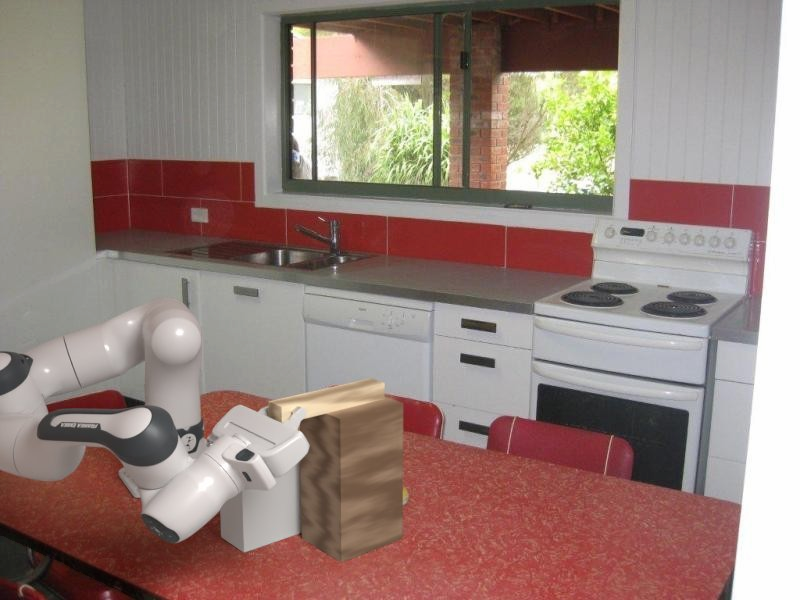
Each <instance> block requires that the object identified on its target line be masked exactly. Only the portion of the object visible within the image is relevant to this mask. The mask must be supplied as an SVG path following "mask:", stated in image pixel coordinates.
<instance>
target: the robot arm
mask: <svg viewBox="0 0 800 600" xmlns="http://www.w3.org/2000/svg"><path fill="white" fill-rule="evenodd" d="M202 331H203V330H202V328H201V325H200V322H199V321H198V319H197V318H196V316H195V315H194V314H193V313H192V311H191V310H190V309H189V307H188V306H187V305H186V303H183V302H182V301H181V300H179V299H176V298H173V297H168V296H163V297H157V298H154V299H151V301H149V302H148V301H147V302H146V303H142V304H141V305H139V306H137V307H134V308H132V309H129V310H127V311H125V312H123V313H121V314H119V315H117V316H115V317H113V318H109V319H108V320H105V321H103V322H100V323H97V324H95V325H92V326H89V327H85V328H82V329H79V330H76V331H73V332H70V333H67V334H64V335H60V336H58V337H56V338H52V339H51V340H48V341H45V342H43V343H39V345H37V346H35V347H32V348H31V349H28V350H26V351H25V352H23V353H18V352H14V351H8V350H7V351H6V350H3V351H2V350H0V471H2V472H5V473H8V474H10V475H14V476H17V477H22V478H26V479H30V480H34V481H40V482H41V481H42V482H55V481H56V482H57V481H61V480H62V481H63V479H65V478H67V477H69V476H70V475H71V474H73V472H75V470H76V469H77V468H78V467H79V465H80V464H81V462H82V460H83V458H84V456H85V454H86V453H85V452H86V450H87V447H90V448H93V447H94V448H105V449H107V450H108V451H109V452H110V453H112V454H113V455H115V457H116V458H117V459H118V461H120V462H121V464H122V465H123V467H122V468H120V469H119V470H118V477H119V478H120V480H121V481H122V482H123V484H124V485H125V486H126V488H127V489H128V490H129V493H131V495H132V496H133V497H134V498H136V499H140V501H141V508H142V511H141V513H140V518H141V521H142V522H143V524H144V525H145V526H146V528H148V530H149V531H151V532H152V533H153V534H154V535H155V536H156V537H157V538H159V539H160V540H163V541H164V542H167V543H169V544H177V543H180V542H182V541H183V542H184V541H185V540H186V539H189V537H191V536H193V535H194V534H196V532H199V530H200V529H202V528H203V527H204V526H205V525H206V524H207V523H208V522H210V521H211V520H212V519H213V518H214V517H215V516H216V515H217V514H218V513H219V512H220V509H221V507H222V506H223V504H224V503H225V502H226V501H228V500H229V499H231V498H233V497H235V496H236V495H237V494H238V493H240V492H241V491H242V490H243V489H244V490H265V491H267V490H270V489H272V488H273V487H274V486H275V484H276V480H275V478H279V477H281V476H283V475H285V474H286V473H288V472H289V471H290V470H291V469H292V468H293V467H294V466H295V465H296V464H298V463H299V462H300V461H301V460H302V459H303V457H304V456H305V455H306V454H307V453H308V450H309V447H310V445H309V443H308V441H307V439H306V438H305V436H304V434H303V433H302V432H301V431H300V430H298V429H299V428H300V422H301V421H302V420H303V419H304V418H305V417H306V416H307V413H306V411H305V409H304V408H302V407H299V406H297V407H296V408H295V409H293V410H292V411H291V413H292V416H291V418H290V420H289V421H288V420H286V421H285V422H284V423H281V422H278V421H276V420H274V419H272V418H270V417H269V409H268V405H266V406H264V407H262V408H260V409H259V410H258V411H256V410H254V409H252V408H249V407H247V406H245V405H242V404H238V405H235V406H233V407H231V409H230V410H229V411H228V412H227V413H225V414H224V415H223V416H222V418H221V419H220V420H219V421H217V422H216V424H215V426H214V427H213V428H212V431H211V432H210V434H209V435H208V436H207V437H206V438H205V437H204V436H205V423H204V419H203V417H202V405H201V372H202V371H201V370H202V352H203V351H202V350H203V347H202V346H203V344H202V343H203V335H202V334H203V332H202ZM143 362H144V385H143V386H144V387H143V389H144V405H143V404H141V405H136V406H130V407H127V408H126V407H125V408H113V409H112V408H78V407H76V408H71V407H70V408H60V409H55V410H53V411H50V412H49V410H48V407H47V404H46V401H45V400H46V399H48V398H51V397H56V396H61V395H65V394H68V393H73V392H76V391H78V390H81V389H85V388H88V387H91V386H94V385H96V384H100V383H103V382H105V381H108V380H111V379H113V378H117V377H119V376H123V375H124V374H126V372H128V371H129V370H131V369H133V368H135V367H136V366H138V365H140V364H142V363H143Z"/></svg>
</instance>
